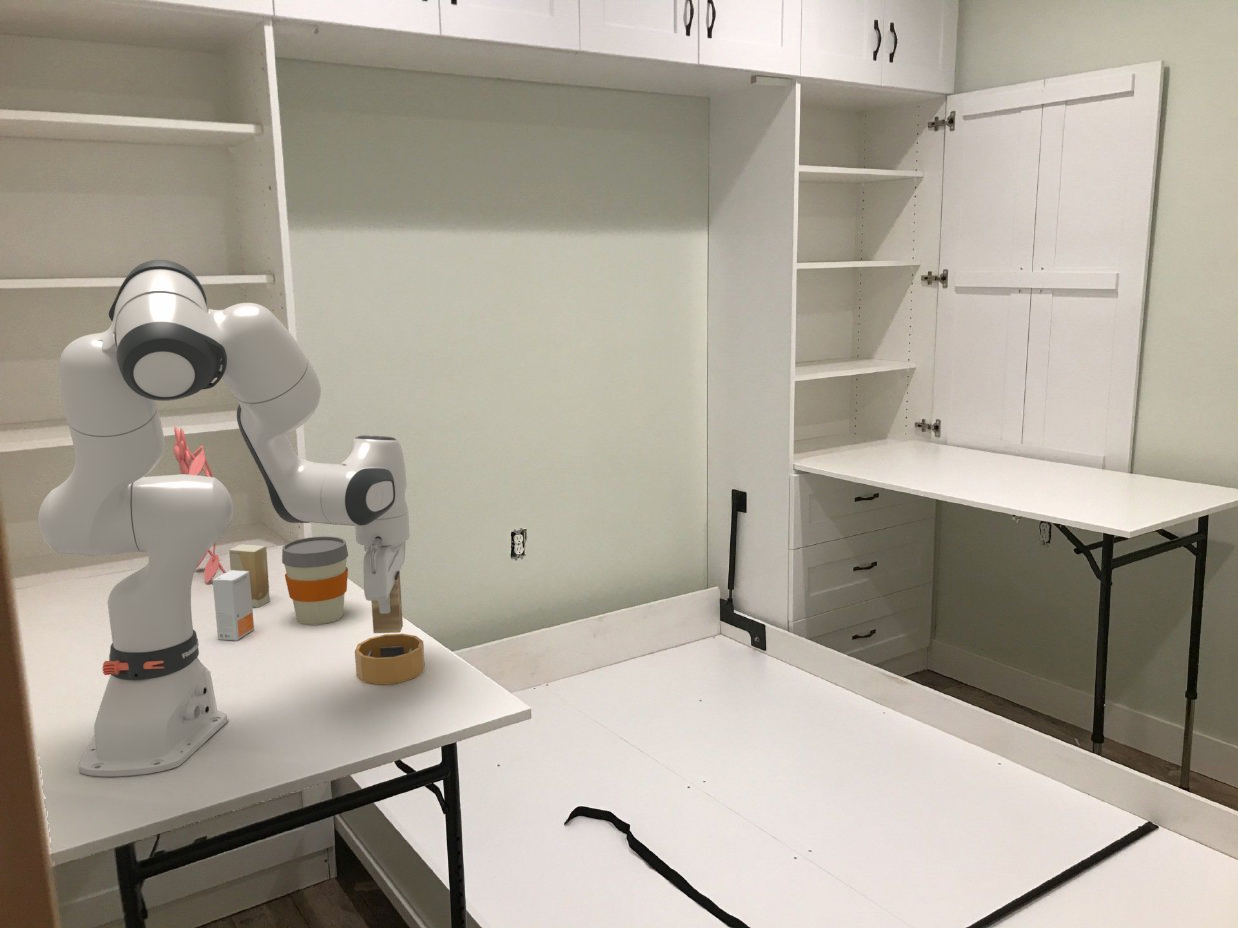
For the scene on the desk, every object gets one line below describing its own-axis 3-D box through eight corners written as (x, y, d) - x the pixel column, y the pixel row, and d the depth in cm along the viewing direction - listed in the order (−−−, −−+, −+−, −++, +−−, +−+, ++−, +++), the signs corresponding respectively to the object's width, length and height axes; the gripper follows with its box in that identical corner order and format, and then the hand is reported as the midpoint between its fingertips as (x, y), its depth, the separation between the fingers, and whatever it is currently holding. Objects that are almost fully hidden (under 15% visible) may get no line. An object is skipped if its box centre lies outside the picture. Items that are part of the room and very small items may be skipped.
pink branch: (219, 558, 237) (201, 416, 229) (240, 587, 215) (221, 431, 208) (150, 571, 229) (129, 423, 222) (165, 602, 208) (141, 440, 200)
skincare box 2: (237, 641, 184) (231, 580, 182) (217, 639, 185) (211, 579, 183) (255, 629, 190) (250, 570, 188) (236, 628, 191) (230, 569, 189)
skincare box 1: (232, 605, 204) (226, 549, 201) (245, 598, 208) (239, 543, 206) (259, 607, 202) (254, 551, 200) (271, 600, 206) (266, 545, 204)
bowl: (420, 682, 165) (418, 657, 164) (352, 685, 164) (350, 660, 163) (427, 656, 176) (425, 632, 175) (363, 659, 175) (361, 635, 174)
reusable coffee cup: (329, 601, 205) (324, 532, 202) (365, 614, 197) (359, 542, 194) (275, 618, 196) (268, 546, 193) (310, 632, 188) (303, 557, 185)
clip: (414, 673, 167) (413, 658, 166) (361, 676, 166) (360, 661, 166) (418, 658, 173) (417, 643, 173) (368, 660, 173) (367, 646, 172)
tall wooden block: (400, 632, 167) (396, 576, 165) (373, 633, 167) (369, 577, 164) (402, 625, 170) (399, 570, 168) (376, 626, 169) (372, 571, 167)
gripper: (391, 547, 154) (397, 629, 157) (409, 513, 174) (414, 586, 177) (351, 548, 154) (357, 631, 157) (373, 514, 174) (378, 588, 177)
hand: (387, 607), depth 167 cm, fingers closed on tall wooden block, 3 cm apart
